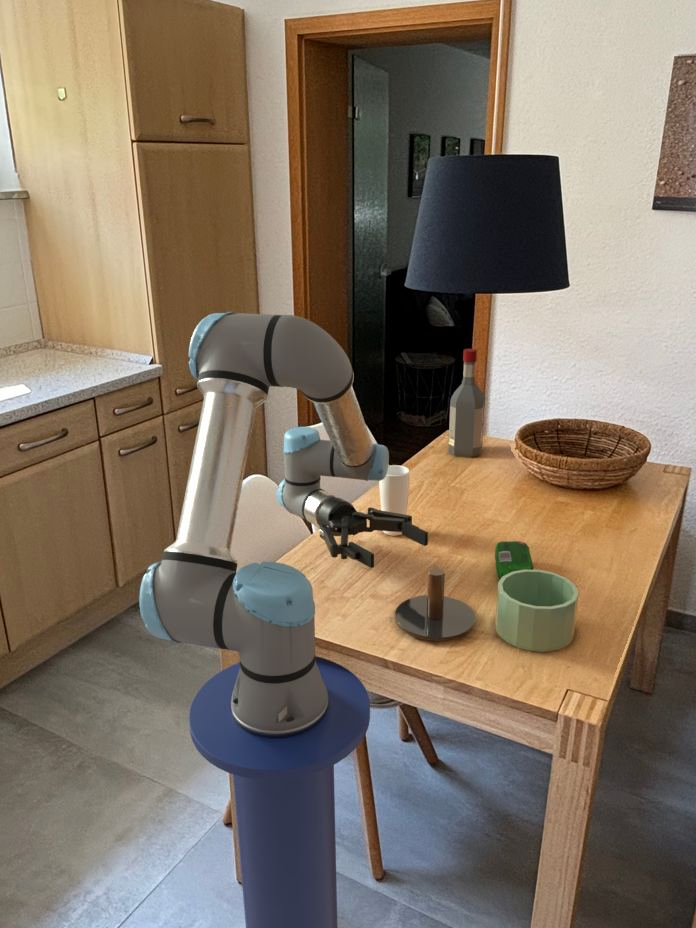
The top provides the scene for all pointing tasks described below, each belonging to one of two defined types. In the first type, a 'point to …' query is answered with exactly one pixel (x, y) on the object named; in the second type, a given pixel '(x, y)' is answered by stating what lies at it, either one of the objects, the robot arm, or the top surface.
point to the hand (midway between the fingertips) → (400, 550)
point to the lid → (435, 612)
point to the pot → (536, 610)
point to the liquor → (467, 412)
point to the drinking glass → (395, 492)
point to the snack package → (512, 557)
